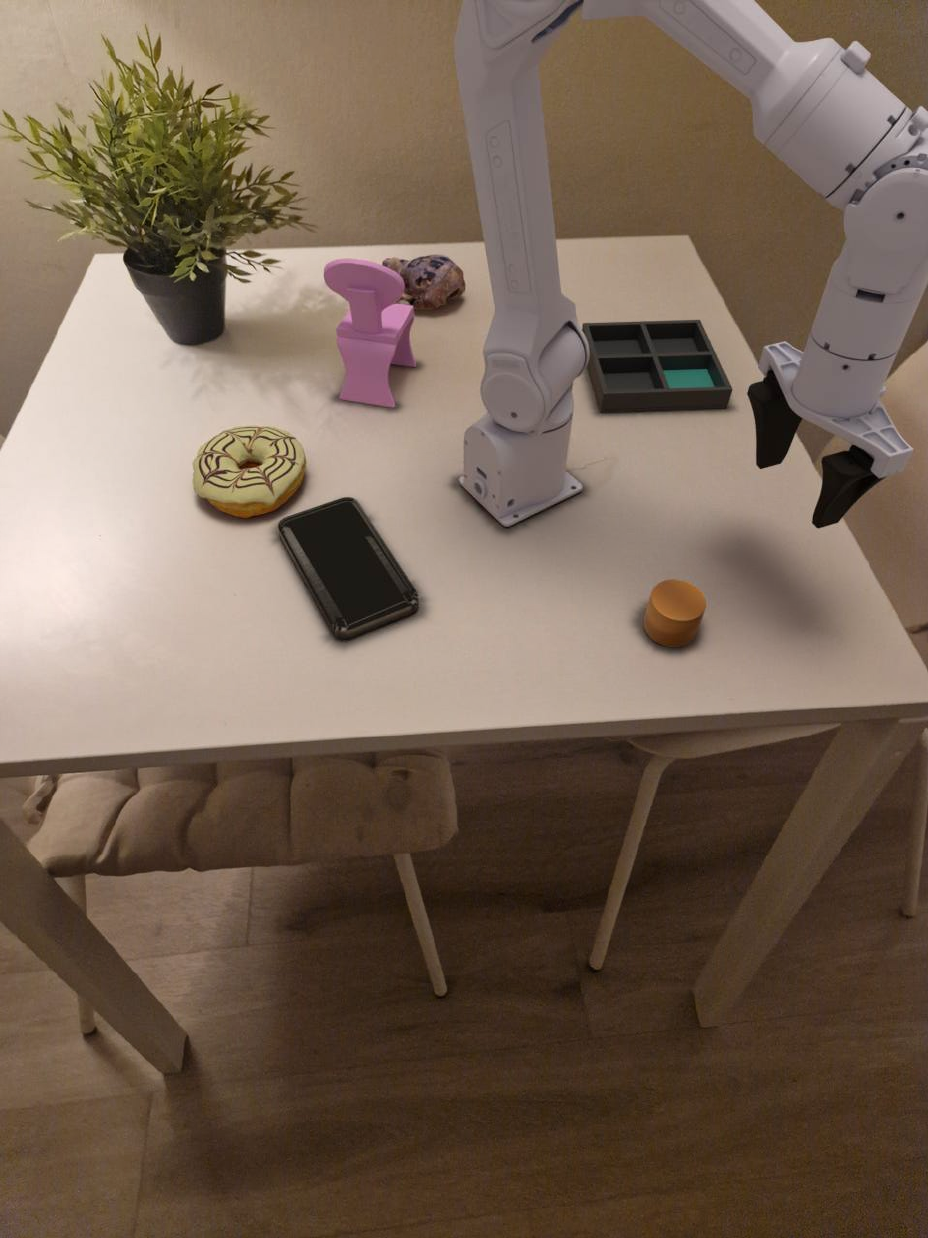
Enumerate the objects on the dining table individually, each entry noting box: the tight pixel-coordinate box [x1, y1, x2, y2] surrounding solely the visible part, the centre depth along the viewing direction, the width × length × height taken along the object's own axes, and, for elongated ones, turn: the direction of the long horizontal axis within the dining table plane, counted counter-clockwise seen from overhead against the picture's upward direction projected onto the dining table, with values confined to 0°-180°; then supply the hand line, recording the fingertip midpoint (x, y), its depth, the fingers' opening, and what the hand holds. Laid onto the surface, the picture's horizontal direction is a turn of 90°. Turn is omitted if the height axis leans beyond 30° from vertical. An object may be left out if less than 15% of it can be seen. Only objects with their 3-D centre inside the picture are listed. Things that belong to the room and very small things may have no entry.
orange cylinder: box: [642, 579, 707, 648], centre depth 65 cm, size 4×4×4 cm
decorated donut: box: [192, 425, 307, 519], centre depth 76 cm, size 10×11×4 cm
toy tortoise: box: [381, 254, 467, 311], centre depth 98 cm, size 12×8×6 cm, turn 40°
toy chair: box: [323, 257, 417, 409], centre depth 83 cm, size 8×9×15 cm
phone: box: [277, 496, 420, 640], centre depth 70 cm, size 8×1×15 cm
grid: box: [581, 319, 734, 414], centre depth 89 cm, size 14×14×2 cm
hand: (795, 492), depth 64 cm, fingers open, 7 cm apart
